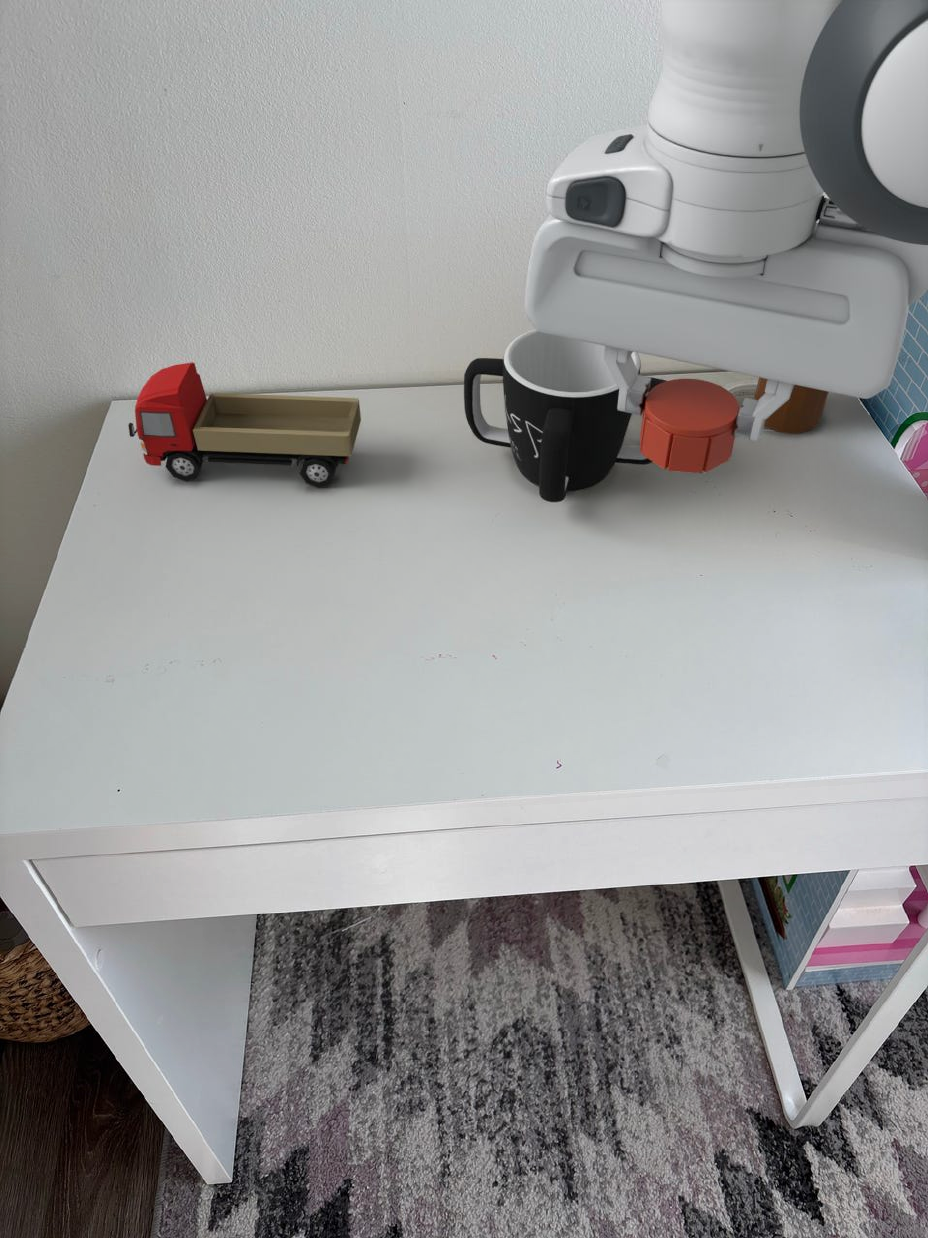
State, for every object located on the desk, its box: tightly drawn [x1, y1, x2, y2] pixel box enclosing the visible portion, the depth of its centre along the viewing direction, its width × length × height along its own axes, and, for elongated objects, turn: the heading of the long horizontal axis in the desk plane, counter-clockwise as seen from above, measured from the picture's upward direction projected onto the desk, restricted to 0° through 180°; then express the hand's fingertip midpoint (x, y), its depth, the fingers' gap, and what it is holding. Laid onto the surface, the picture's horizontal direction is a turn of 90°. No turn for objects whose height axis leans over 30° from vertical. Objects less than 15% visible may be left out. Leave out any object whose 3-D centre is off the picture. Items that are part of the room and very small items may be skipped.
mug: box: [463, 328, 667, 503], centre depth 90 cm, size 16×16×12 cm
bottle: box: [753, 377, 830, 434], centre depth 94 cm, size 7×7×16 cm
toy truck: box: [128, 361, 362, 489], centre depth 91 cm, size 7×21×10 cm, turn 85°
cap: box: [639, 378, 740, 474], centre depth 58 cm, size 5×5×3 cm
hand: (688, 420), depth 57 cm, fingers closed on cap, 5 cm apart
